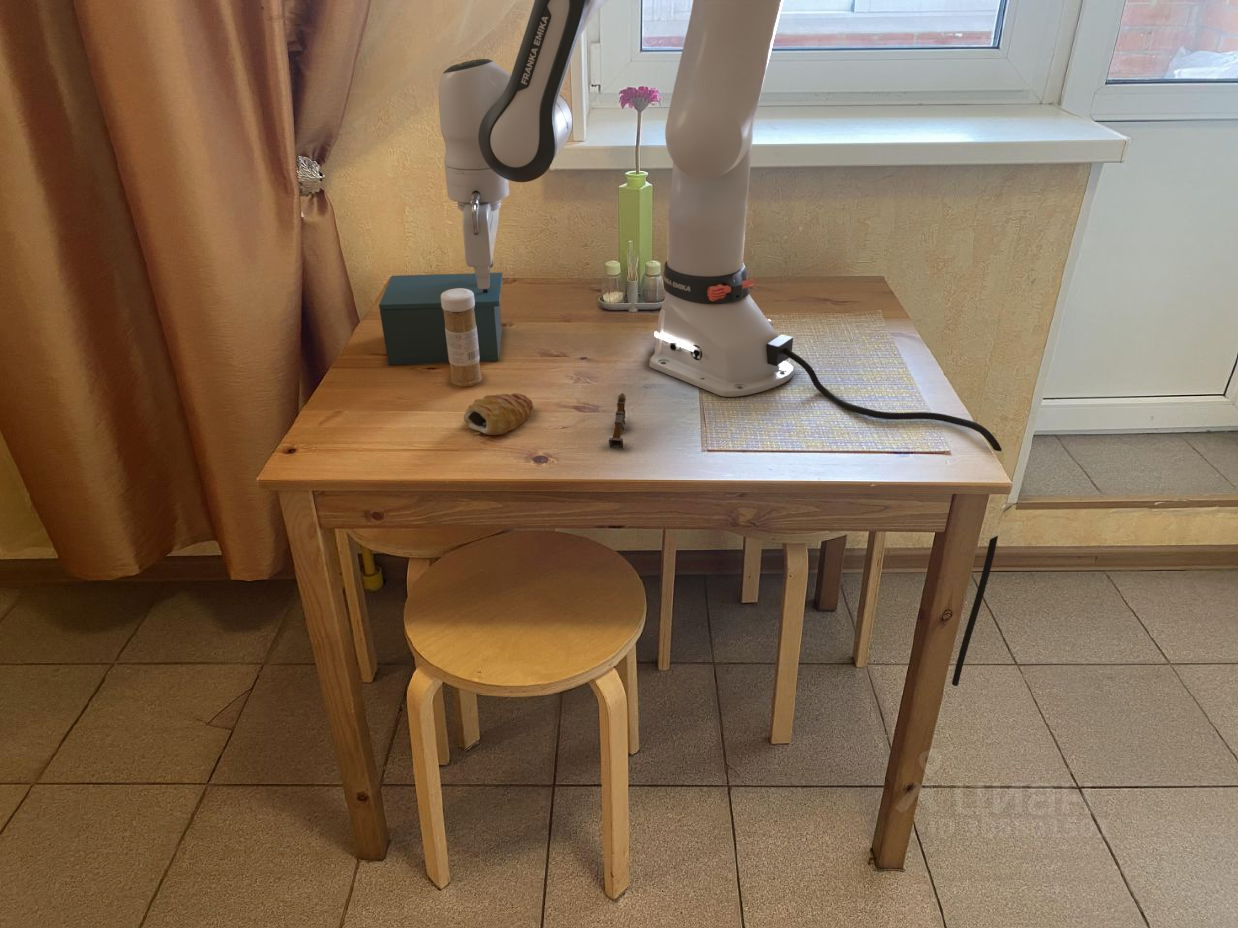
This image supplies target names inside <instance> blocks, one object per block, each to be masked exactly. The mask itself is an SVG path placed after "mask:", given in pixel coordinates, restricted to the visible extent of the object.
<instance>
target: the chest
mask: <svg viewBox="0 0 1238 928" xmlns="http://www.w3.org/2000/svg"><path fill="white" fill-rule="evenodd" d="M474 313H475V322H476V327H477V336H478V346H479V357H480V360H479V363H483V362H485V363H487V362H500V361H499V360H500V351H501V343H502V342H501V341H502V333H503V326H502V325H503V324H502V313H501V305H500V306H491V307H474ZM379 314H380V320H381V327H382V334H383V340H384V346H385V352H386V360H387V365H388V366H399V365H400V366H401V365H402V366H403V365H427V364H429V365H430V364H450V362H449V357H448V349H447V341H446V332H445V318H444V311H443V308H422V309H387V310H380V309H379Z"/></svg>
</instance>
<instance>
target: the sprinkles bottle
mask: <svg viewBox="0 0 1238 928" xmlns="http://www.w3.org/2000/svg"><path fill="white" fill-rule="evenodd" d="M441 305H442V308H443V311H444V318H445V332H446V341H447V349H448V357H449V362H450V363H449V369H450V382H451V383H452V384H453V385H455V386H457V387H472V386H474V385H477V384H478V383H480V382H481V381H482V378H483V375H482V373H481V365H480V362H479V360H480V357H479V346H478V336H477V327H476V322H475V313H474V306H475V300H474V293H473V292H472V291H471V290H468V289H463V288H457V289H450V290H447V291H445V292H443V293H442V294H441Z"/></svg>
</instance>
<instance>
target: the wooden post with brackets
mask: <svg viewBox="0 0 1238 928" xmlns="http://www.w3.org/2000/svg"><path fill="white" fill-rule="evenodd" d="M626 400H627V398H626V394H625V393H623V392H621V393H619V394H617V402H616V407H617V408H616V409H617V410H616V411H615V414H614V416H615V418H614V429H613V434H612V436H611V437H608V447H609V449H614V450H615V449H616V450H624V438H623V437H622V432H624V431H625V425H626V409H625V407H626V406H625V405H626Z"/></svg>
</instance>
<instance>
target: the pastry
mask: <svg viewBox="0 0 1238 928" xmlns="http://www.w3.org/2000/svg"><path fill="white" fill-rule="evenodd" d="M533 413H534V405H533V400H532V399H530V398H529V397H527V395H525V394H523V393H515V392H514V393H510V394H509V393H501V394H492V395H490V394H488V395H485V396H484V397H483V398H478V399H474V401H473V403H472V404H469V405H468V408H467V409H466V410H465V411H464V414H463V421H464V422H465V424H466V425H467V427H468V429H471V430H473V431H476V432H480V433H482V434H484V435H488V436H500V435H503V434H506V433H507V432H508V431H511V430H512V431H513V430H515V429H517V428H518V427H519V426H522V425H523V423H526V422H527V421H528V420H529V419H530V418H531V417H532V415H533Z"/></svg>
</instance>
